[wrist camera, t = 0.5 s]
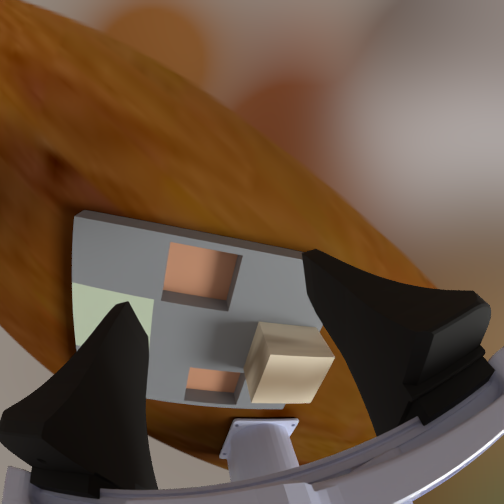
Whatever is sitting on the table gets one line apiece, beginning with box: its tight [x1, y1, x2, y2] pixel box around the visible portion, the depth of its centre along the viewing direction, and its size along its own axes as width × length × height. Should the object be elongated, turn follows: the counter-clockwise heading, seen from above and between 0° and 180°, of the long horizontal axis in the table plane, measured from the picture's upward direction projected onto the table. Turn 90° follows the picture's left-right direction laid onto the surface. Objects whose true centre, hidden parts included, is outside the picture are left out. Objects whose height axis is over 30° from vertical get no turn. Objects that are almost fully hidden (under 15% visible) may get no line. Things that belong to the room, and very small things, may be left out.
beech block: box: [243, 322, 335, 403], centre depth 21 cm, size 5×5×4 cm
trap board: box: [72, 210, 323, 409], centre depth 22 cm, size 16×20×2 cm
